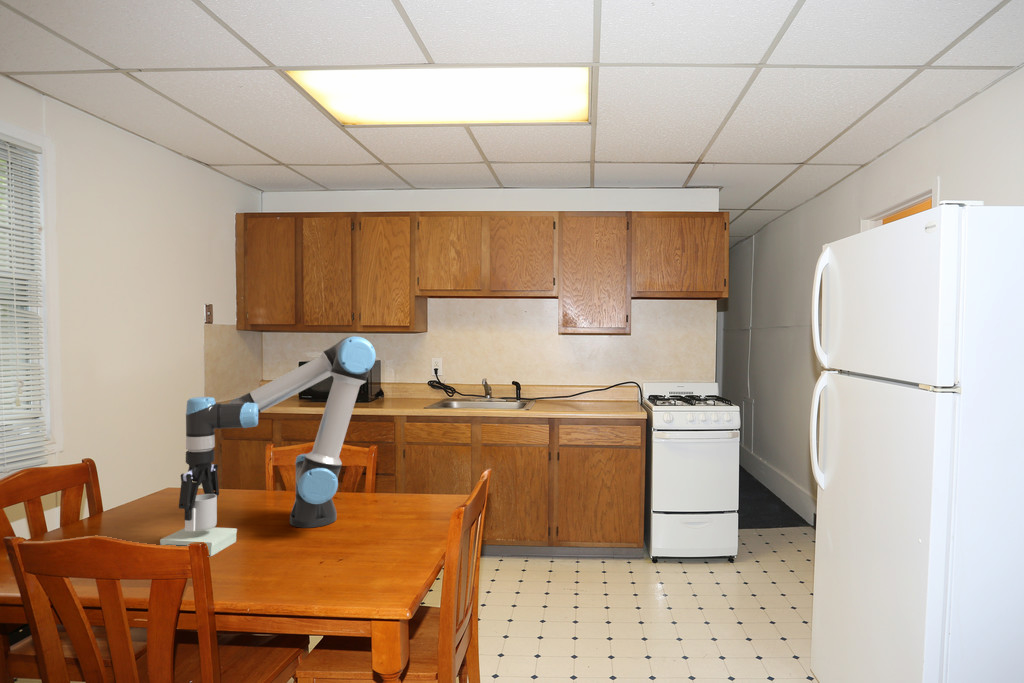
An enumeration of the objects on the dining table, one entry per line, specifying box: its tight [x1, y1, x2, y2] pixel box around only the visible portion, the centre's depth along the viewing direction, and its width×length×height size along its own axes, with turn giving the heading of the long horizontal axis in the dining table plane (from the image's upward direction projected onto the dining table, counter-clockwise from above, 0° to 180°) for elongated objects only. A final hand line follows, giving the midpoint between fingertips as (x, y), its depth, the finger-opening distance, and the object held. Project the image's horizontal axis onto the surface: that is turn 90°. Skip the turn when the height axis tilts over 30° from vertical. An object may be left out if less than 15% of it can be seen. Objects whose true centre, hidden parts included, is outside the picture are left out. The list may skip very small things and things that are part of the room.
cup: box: [193, 493, 218, 531], centre depth 170 cm, size 7×10×9 cm
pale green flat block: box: [159, 526, 238, 557], centre depth 169 cm, size 16×12×4 cm
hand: (199, 525), depth 169 cm, fingers closed on cup, 7 cm apart
